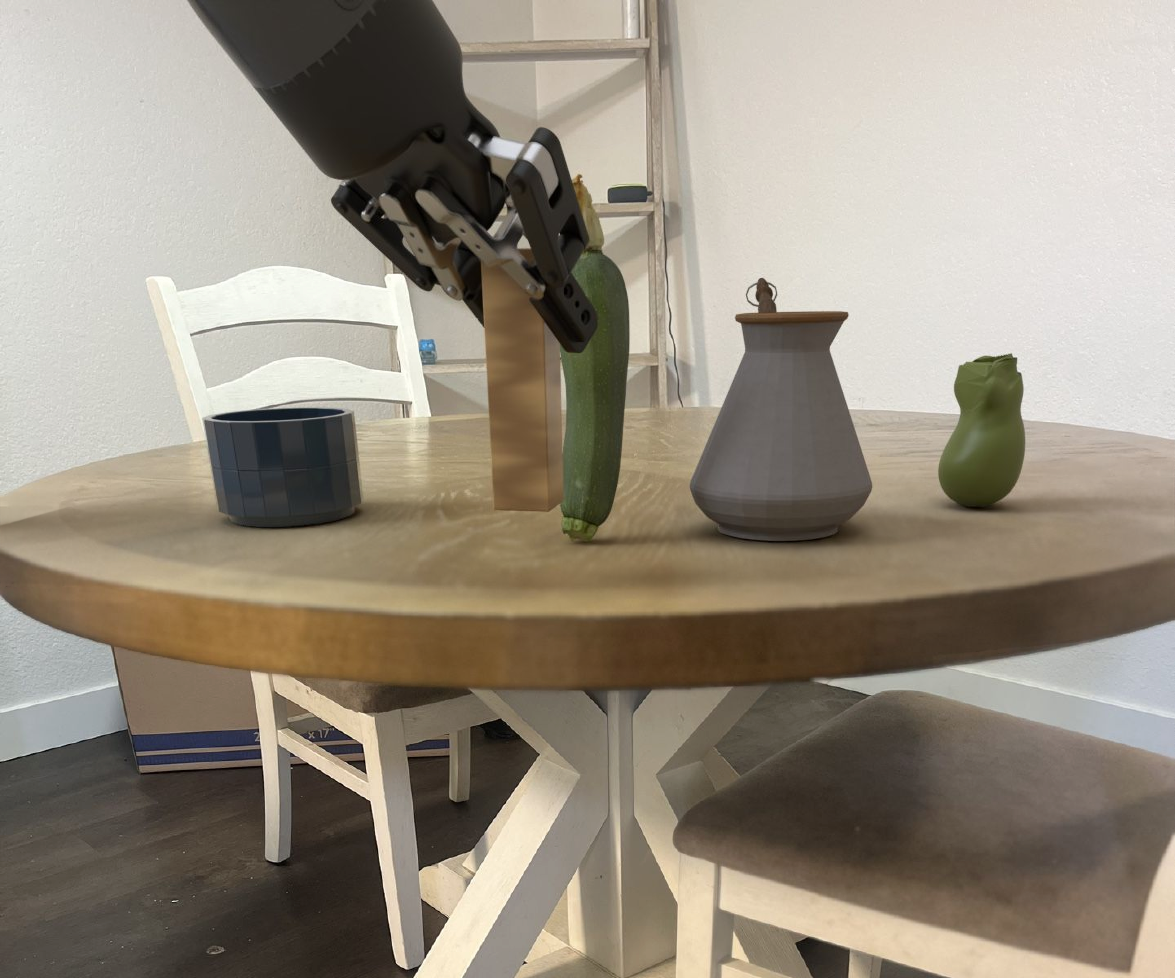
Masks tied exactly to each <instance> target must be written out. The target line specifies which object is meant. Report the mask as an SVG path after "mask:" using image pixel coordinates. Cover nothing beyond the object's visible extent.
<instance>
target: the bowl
mask: <svg viewBox="0 0 1175 978" xmlns="http://www.w3.org/2000/svg"><path fill="white" fill-rule="evenodd" d="M201 420H202V425H203V433H204V438H205V445H206V450H207V455H208V456H207V457H208V462H209V464H210V465H209V467H210V474H211V481H212V485H213V491H214V497H215V503H216V508H217V511H219V513H221V514H225V515H228V517H229V521H230V522H231V523H232V524H234V525H238V524H239V525H238V526H243V525H244V526H243V527H250V526H253V528H292V527H291V526H294V527H304V525H306V526H312V525H311V524H314V525H321V524H326V523H331V522H336V521H340V520H343V519H346V518H349V517H351V516H353V515H354V514H355V512H356V510H355V507H356V506H358V505H361V504H362V503H363V501H364V490H363V483H362V482H363V481H362V473H361V471H362V470H361V464H360V463H361V462H360V453H359V444H358V435H357V426H356V416H355V410H351V409H349V408H344V407H343V408H341V407H323V406H322V407H321V406H318V407H317V406H316V407H315V406H313V407H312V406H310V407H309V406H307V407H305V406H303V407H302V406H300V407H299V406H297V407H295V406H294V407H274V408H273V407H272V408H259V409H258V408H256V409H255V408H254V409H245V410H243V409H242V410H233V411H227V412H226V411H225V412H219V413H215V414H207V415H206V416H203V417H202V418H201ZM245 525H246V526H245ZM254 526H255V527H254Z"/></svg>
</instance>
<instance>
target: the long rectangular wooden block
mask: <svg viewBox="0 0 1175 978" xmlns="http://www.w3.org/2000/svg"><path fill="white" fill-rule="evenodd" d="M517 248H518V247H517ZM518 251H519V253H520V254H521V255H522V256H523V257H524V258H525V259H526V260H527V261H528V262H529V264H530V265H531V263H532V261H533V260H534V255H533V253H532V250H531V247H521V248H520V247H519V248H518ZM481 273H482V293H483V312H484V327H483V331H484V348H485V349H484V350H485V367H486V385H487V403H488V404H487V405H488V426H489V428H488V429H489V443H490V444H489V445H490V463H491V465H490V466H491V479H492V480H491V485H492V502H493V503H492V505H493V510H494V511H508V512H512V511H513V512H543V513H545V512H546V513H548V512H551V511H552V510H553V509H555V508H556V507H558V506H560V503H562V502H563V501H564V495H563V417H562V416H563V415H562V414H563V413H562V411H563V410H562V377H561V376H562V373H561V372H562V371H561V354H560V343H559V342H558V340H557V339H556V337H555V336H554V335H553V333H552V332H551V330H550V329H549V327H548V326H547V325H546V323H545V322H544V320H543V319H542V317H541V316H540V315H539V313H538V312H537V310H536V309H535V307H534V306H533V305H532V303H531V302H530V300H529V299H530V296H528V295H527V294H526V293H525V292H524V291H523V290H522V289H521V288H520V287H519V286H518V285H517V284H516V283H515V282H514V280H513V279H512V278H511V277H510V276H509V275H508V274H507V273H506V272H505V271H504V270H503V269H502V268H501V267H500V266H494V267H488V266H486V265H485V264H484V263H483V262H482V261H481Z"/></svg>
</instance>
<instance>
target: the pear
mask: <svg viewBox="0 0 1175 978" xmlns="http://www.w3.org/2000/svg"><path fill="white" fill-rule="evenodd" d="M1017 365H1018V357H1016V356H1015V357H1014V356H1013V353H1012V352H1011V353H1006V354H1003V355H1002V354H1000V355H996V356H992V355H982V356H980V357H976V358H975V359H973V361H966V362H964V363H963V364H959V365H958V368H957V372H956V377H955V380H954V383H953V393H954V397H955V400H956V402H957V403H958V406H959V411H960V414H959V418H958V421H957V424H956V426H955V428H954V430H953V431H952V433H951V435H950V437H949V438H948V441H947V442H946V445H945V446H944V448H943V451H942V453H941V455H940V458H939V463H938V468H937V473H938V481H939V485H940V487H941V490H942V491H943V492H944V494H945V495H946V496H947V497H948V498H949V499H950V500H951V501H952V502H954V503H956V504H959V505H961V506H965V507H969V508H981V507H987V506H991V505H994V504H996V503H998V502H1000V501H1001V500H1004V498H1005V497H1007V496H1008V495H1009V494H1011V492H1012V491H1013V489H1014V488H1015V487H1016V484H1017V483H1018V480H1019V478H1020V476H1021V474H1022V473H1021V472H1022V469H1023V464H1024V460H1025V454H1026V430H1025V424H1024V421H1023V417H1022V402H1023V397H1024V391H1025V389H1024V381H1023V374H1022V373H1021V372H1020V371H1018V366H1017Z"/></svg>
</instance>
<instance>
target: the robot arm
mask: <svg viewBox="0 0 1175 978" xmlns="http://www.w3.org/2000/svg"><path fill="white" fill-rule="evenodd" d="M186 2H187V3H188V4H189V6H190V8H191V9H192V10H193V12H194V13H195V15H196V17H197V18H198V20H199V21H200V23H202V24H203V26H204V27H205V28H206V30H207V31H208V32H209V34H210V35H211V36H212V37H213V39H214V40H215V41H216V42H217V44H218V45H219V46H220V48H221V49H222V50H223V51H224V53H225V54H226V55H227V57H228V58H229V59H230V60H231V61H232V62H233V64H234V65H235V67H237V69H238V70H239V71H240V73H241V74H242V75H243V76H244V77H245V79H246V80H247V81H248V82H249V84H250V85H251V86H252V88H253V89H254V90H255V91H256V92H257V94H258V95H259V96H260V97H261V99H262V100H263V101H264V102H265V104H266V105H267V106H268V108H269V109H270V110H271V111H272V112H273V114H274V115H275V116H276V118H277V119H278V120H279V121H280V123H281V124H282V125H283V126H284V127H285V129H286V130H287V131H288V132H289V134H290V135H291V136H292V137H293V139H294V140H295V141H296V143H297V144H298V145H299V146H300V147H301V149H302V150H303V151H304V152H305V154H306V155H307V156H308V158H310V160H311V161H312V163H313V164H314V165H315V166H316V167H317V169H318V170H319V171H320V172H321V173H322V174H324V175H325V176H327V177H328V178H330V179H333V180H338V181H341V182H340V183H339V184H338V187H337V189H336V190H335V192H334V193H333V195H332V197H330V203H331V205H332V207H333V208H334V210H335V211H337V213H339V215H341V217H343V219H345V221H347V222H348V223H349V224H350V225H351V226H352V227H353V228H354V229H356V230H357V232H359V233H360V234H361V235H362V236H363V237H364V238H365V239H366V240H367V241H368V242H370V243H371V244H372V245H373V246H374V247H375V248H376V249H377V250H378V251H379V252H380V253H381V254H382V255H383V256H384V257H386V258H387V259H388V261H390V262H391V263H392V264H393V265H394V266H395V267H396V268H397V269H398V270H399V271H400V272H401V273H403V274H404V275H405V277H407V278H408V279H409V280H410V281H411V282H412V283H414V285H415V286H417V287H418V288H419V289H421V290H422V291H424V292H431V291H433V289H434V288H435V286H436V285H437V286H440V288H441V289H442V290H443V292H444V293H445V295H447V296H448V297H449V298H450V299H453V300H454V301H459V302H460V301H462V302H463V303H464V304H465V306H466V307H467V308H468V309H469V311H470V312H471V313H472V314H473V316H474V317H475V319H477V321H478V323H480V325H482V328H484V312H483V293H482V273H481V261H482V262H483V263H484V264H485V265H486V266H488V267H494V266H500V267H501V268H502V269H503V270H504V271H505V272H506V273H507V274H508V275H509V276H510V277H511V278H512V279H513V280H514V282H515V283H516V284H517V285H518V286H519V287H520V288H521V289H522V290H523V291H524V292H525V293H526V294H527V295H528V296H530V299H529V300H530V302H531V303H532V305H533V306H534V307H535V309H536V310H537V312H538V313H539V315H540V316H541V317H542V319H543V320H544V322H545V323H546V325H547V326H548V327H549V329H550V330H551V332H552V333H553V335H554V336H555V337H556V339H557V340H558V342H559V343H560V345H561V346H562V347H563V349H564V350H565V351H566V352H567V353H581V352H583V351H584V349H585V348H586V346H587V344H588V343H589V341H590V339H591V337H592V336H593V334H594V332H595V331H596V329H597V326H598V316H597V312H596V310H595V308H594V307H593V305H592V304H591V303H590V301H589V299H588V298H587V296H585V295H586V294H585V293H584V291H583V290H582V288H581V287H580V285H579V284H578V282H577V280H576V279H575V277H574V276H573V274H572V273H571V272H572V270H573V268H574V267H575V265H576V263H577V262H578V260H579V258H580V257H581V255H582V253H583V252H584V250H585V249H586V247H587V245H588V244H589V241H590V239H589V235H588V232H587V229H586V225H585V222H584V219H583V215H582V212H581V209H580V206H579V202H578V199H577V196H576V193H575V189H574V186H573V183H572V179H573V178H572V177H571V173H570V170H569V167H568V163H567V161H566V156H565V153H564V150H563V146H562V144H561V141H560V138H559V137H558V136H557V134H555V133H554V132H553V131H552V130H550V129H549V128H547V127H543V126H539V127H537V128H536V129H535V131H534V132H533V133H532V136H531V137H530V139H529V140H528V142H523V141H518V140H513V139H509V138H505V137H501V135H500V132H499V130H498V129H497V128H496V126H495V125H494V124H493V122H491V120H490V119H488V117H486V116H485V115H484V114H482V112H481V111H480V110H479V109H478V108H477V107H476V106H475V105H474V104H473V103H472V102H471V100H470V98H468V97H467V94H466V91H465V87H464V79H463V77H464V76H463V65H464V64H463V61H464V60H463V59H464V58H463V52H462V47H461V45H460V43H459V41H458V39H457V38H456V36H455V34H454V33H453V31H452V29H451V28H450V26H449V24H448V23H447V21H446V20H445V18H444V16H443V15H442V13H441V11H440V10H439V8H438V7H437V5H436V4H435V2H434V1H433V0H186ZM505 206H506V216H505V217H504V219H503V220H502V222H501V224H500V225H499V227H498V228H497V230H496V231H495V233H494V235H491V233H489V230H490V229H491V228H492V227H493V225H494V223H495V222H496V221H497V219H498V217H499V216H500V214H501V212H502V211H503V209H504V207H505ZM522 237H524V238H525V239H526V240H527V242H528V244H529V248H531V250H532V253H533V255H534V260H533V261H532V263H531V265H530V264H529V262H528V261H527V260H526V259H525V258H524V257H523V256H522V255H521V254H520V253H519V251H518V244H519V242H520V241H521V239H522ZM403 239H405V241H406V243H407V244H408V246H409V248H410V250H411V251H410V250H409V249H408V248H407V247H406V246H405V245H404V242H403Z"/></svg>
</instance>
